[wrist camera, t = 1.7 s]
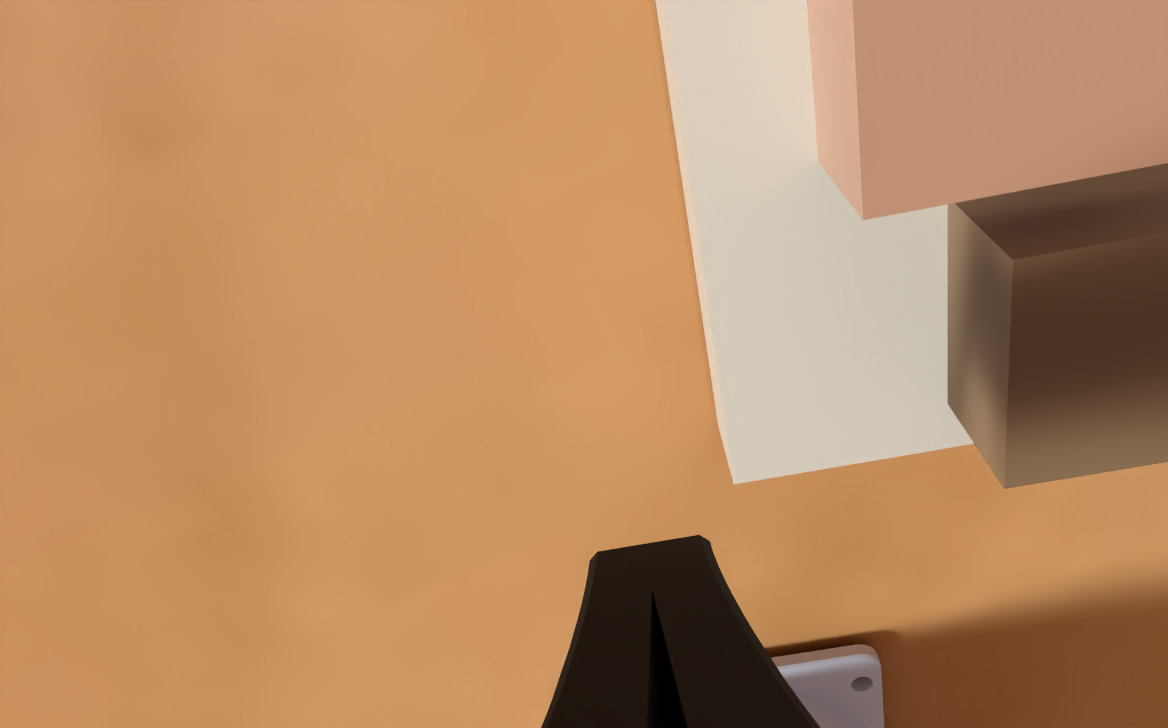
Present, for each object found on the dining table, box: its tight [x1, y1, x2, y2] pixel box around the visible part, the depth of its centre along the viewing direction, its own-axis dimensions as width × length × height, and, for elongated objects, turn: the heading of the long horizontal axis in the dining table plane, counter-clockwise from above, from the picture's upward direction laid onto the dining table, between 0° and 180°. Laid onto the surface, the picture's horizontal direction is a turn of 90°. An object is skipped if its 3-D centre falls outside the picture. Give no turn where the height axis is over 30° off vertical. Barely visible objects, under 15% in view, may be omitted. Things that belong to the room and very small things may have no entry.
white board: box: [655, 0, 974, 484], centre depth 16 cm, size 11×9×2 cm
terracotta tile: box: [807, 0, 1168, 220], centre depth 13 cm, size 4×4×2 cm
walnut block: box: [948, 163, 1168, 489], centre depth 15 cm, size 4×4×2 cm
